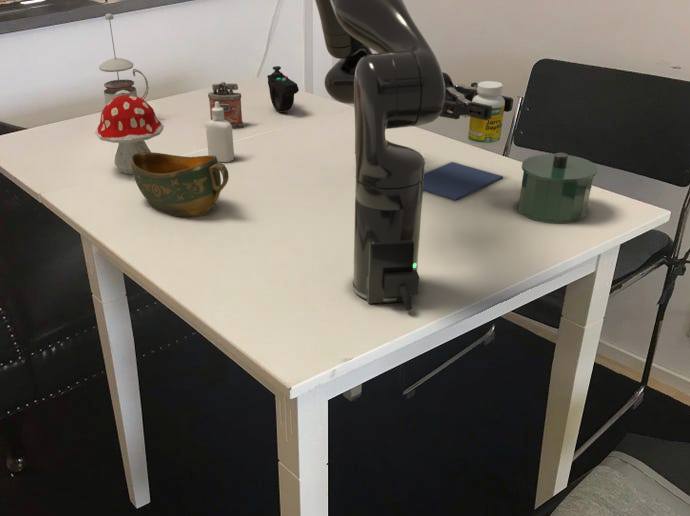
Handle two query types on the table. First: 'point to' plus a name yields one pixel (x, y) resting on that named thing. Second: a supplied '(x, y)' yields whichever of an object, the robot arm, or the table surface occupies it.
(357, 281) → the robot arm
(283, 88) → the controller
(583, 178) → the pot lid
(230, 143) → the eye dropper bottle
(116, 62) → the french press
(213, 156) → the cup
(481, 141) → the supplement bottle
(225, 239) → the table surface
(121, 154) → the decorative mushroom
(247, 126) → the table surface
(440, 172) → the flat panel
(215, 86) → the lighter
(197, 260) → the table surface
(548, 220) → the pot
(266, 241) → the table surface
